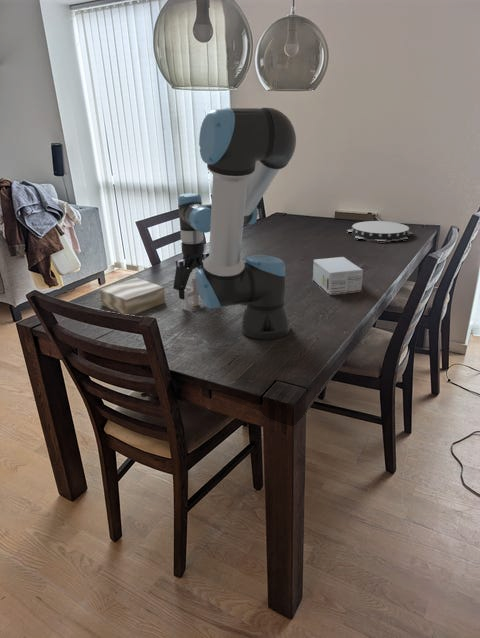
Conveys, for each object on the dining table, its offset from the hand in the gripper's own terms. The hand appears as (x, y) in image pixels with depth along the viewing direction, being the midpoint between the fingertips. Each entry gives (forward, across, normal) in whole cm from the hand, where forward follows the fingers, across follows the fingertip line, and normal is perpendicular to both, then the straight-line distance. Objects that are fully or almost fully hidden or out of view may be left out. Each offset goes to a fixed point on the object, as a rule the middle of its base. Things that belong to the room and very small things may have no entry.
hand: (196, 302), depth 167 cm
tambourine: (+1, -130, +3) cm, 130 cm away
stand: (+1, +14, -18) cm, 23 cm away
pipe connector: (+1, 0, 0) cm, 1 cm away
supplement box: (+1, -47, +28) cm, 55 cm away
